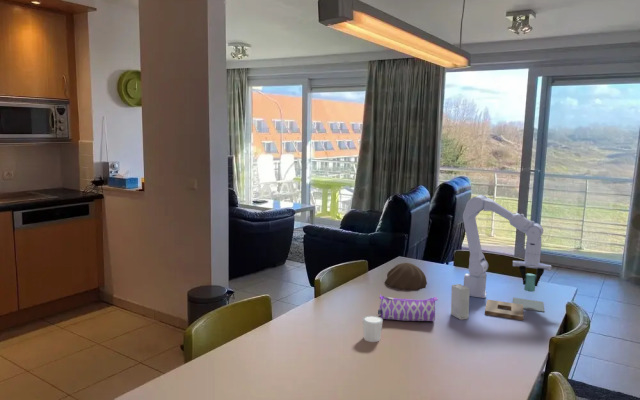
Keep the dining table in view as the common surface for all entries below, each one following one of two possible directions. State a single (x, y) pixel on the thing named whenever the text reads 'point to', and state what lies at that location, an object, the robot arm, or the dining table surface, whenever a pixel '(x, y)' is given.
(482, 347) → the dining table surface
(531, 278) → the peg
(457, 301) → the skincare box
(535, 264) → the robot arm
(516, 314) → the holder block
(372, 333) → the white cylinder
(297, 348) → the dining table surface
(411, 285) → the decorative dome
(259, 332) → the dining table surface
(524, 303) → the slate mat
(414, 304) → the pencil case
